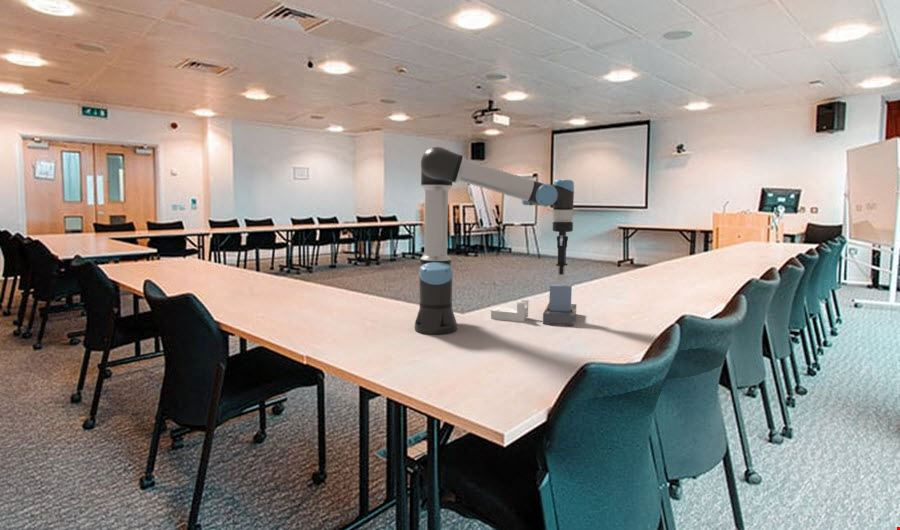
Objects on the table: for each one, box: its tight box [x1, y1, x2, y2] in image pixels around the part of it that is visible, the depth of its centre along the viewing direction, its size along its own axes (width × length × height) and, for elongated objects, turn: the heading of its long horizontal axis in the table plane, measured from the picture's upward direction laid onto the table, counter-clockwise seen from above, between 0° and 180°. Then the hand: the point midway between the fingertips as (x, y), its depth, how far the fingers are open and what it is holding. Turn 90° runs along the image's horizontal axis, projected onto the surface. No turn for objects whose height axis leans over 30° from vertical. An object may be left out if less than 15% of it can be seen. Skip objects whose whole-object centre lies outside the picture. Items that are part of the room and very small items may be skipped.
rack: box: [542, 303, 577, 327], centre depth 210 cm, size 11×21×4 cm, turn 164°
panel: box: [548, 283, 573, 312], centre depth 207 cm, size 8×4×13 cm, turn 74°
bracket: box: [490, 298, 529, 323], centre depth 210 cm, size 13×7×8 cm, turn 67°
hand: (561, 282), depth 206 cm, fingers closed
